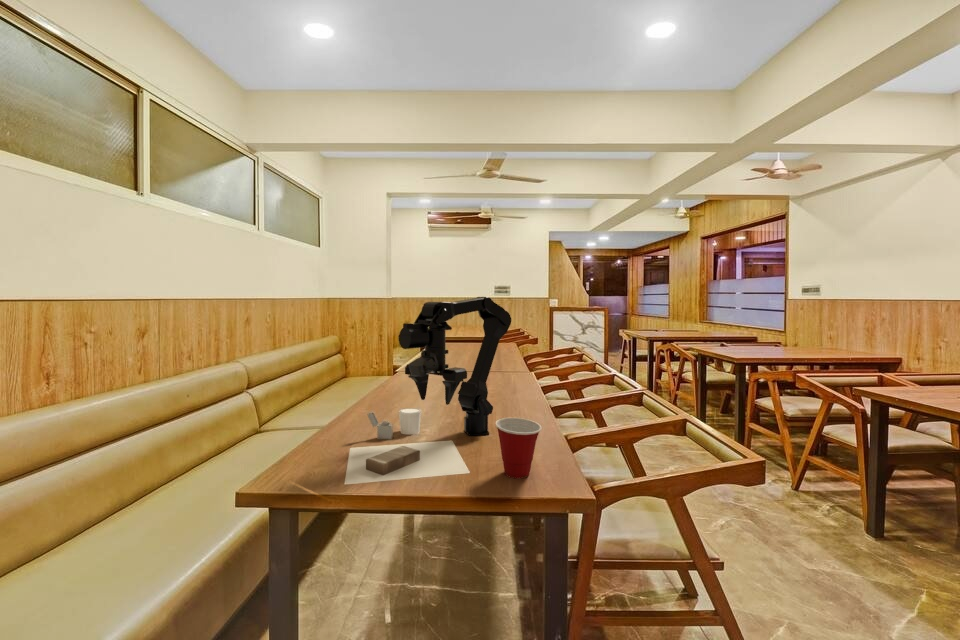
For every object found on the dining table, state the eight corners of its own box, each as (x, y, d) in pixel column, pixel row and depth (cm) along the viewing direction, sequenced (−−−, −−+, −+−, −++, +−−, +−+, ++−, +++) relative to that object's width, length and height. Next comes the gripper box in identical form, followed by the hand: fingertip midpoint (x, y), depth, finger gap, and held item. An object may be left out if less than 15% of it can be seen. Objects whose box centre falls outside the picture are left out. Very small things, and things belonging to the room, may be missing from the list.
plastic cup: (528, 487, 93) (529, 433, 93) (486, 476, 99) (486, 425, 98) (548, 471, 102) (549, 421, 102) (508, 461, 108) (508, 414, 108)
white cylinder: (425, 431, 133) (425, 409, 133) (413, 437, 127) (413, 414, 126) (407, 428, 136) (407, 406, 136) (394, 434, 130) (394, 411, 129)
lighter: (392, 438, 126) (392, 411, 126) (391, 440, 124) (391, 413, 124) (369, 437, 126) (369, 411, 126) (367, 439, 125) (367, 412, 124)
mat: (452, 441, 123) (452, 440, 123) (470, 474, 100) (470, 472, 100) (350, 449, 117) (350, 447, 117) (344, 486, 93) (344, 484, 93)
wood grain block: (403, 445, 111) (365, 458, 102) (419, 449, 108) (382, 464, 98) (403, 454, 111) (365, 469, 102) (419, 460, 108) (383, 475, 98)
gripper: (390, 346, 119) (390, 402, 120) (441, 351, 108) (441, 413, 109) (418, 343, 128) (418, 395, 129) (468, 348, 117) (468, 404, 118)
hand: (435, 402), depth 121 cm, fingers open, 9 cm apart
